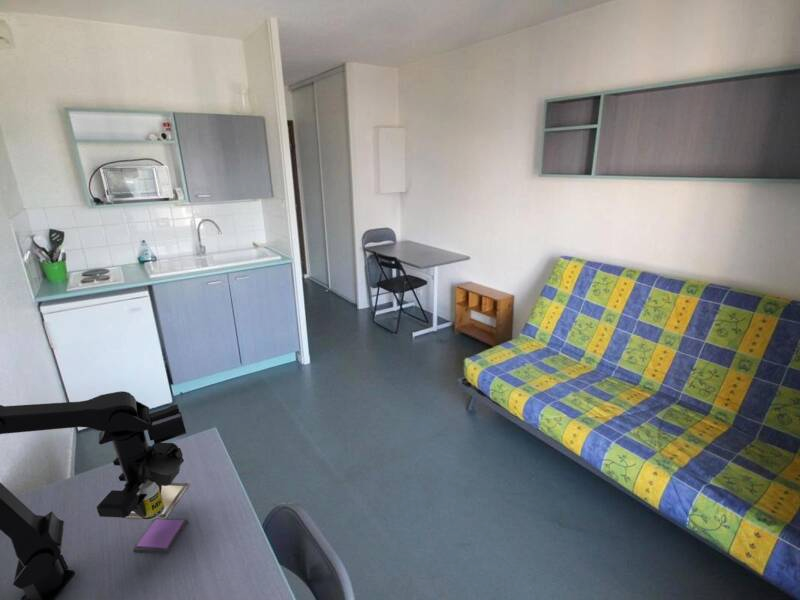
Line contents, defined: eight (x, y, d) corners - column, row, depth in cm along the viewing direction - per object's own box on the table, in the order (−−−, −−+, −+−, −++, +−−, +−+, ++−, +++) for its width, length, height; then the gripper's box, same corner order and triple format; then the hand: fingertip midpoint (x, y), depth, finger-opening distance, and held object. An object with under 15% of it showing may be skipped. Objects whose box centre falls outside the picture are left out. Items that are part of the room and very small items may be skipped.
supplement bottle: (157, 521, 92) (148, 492, 89) (136, 521, 92) (126, 492, 89) (169, 503, 97) (160, 474, 94) (148, 503, 97) (139, 475, 94)
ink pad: (168, 553, 93) (166, 549, 93) (133, 551, 94) (132, 547, 94) (187, 522, 101) (186, 518, 100) (156, 521, 102) (154, 517, 101)
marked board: (165, 519, 102) (164, 517, 102) (122, 517, 103) (121, 516, 103) (189, 484, 112) (189, 482, 112) (150, 482, 113) (149, 481, 113)
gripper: (140, 486, 79) (160, 546, 85) (193, 422, 96) (207, 476, 102) (84, 483, 80) (107, 543, 86) (147, 421, 97) (162, 474, 103)
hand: (151, 506), depth 94 cm, fingers closed on supplement bottle, 5 cm apart
